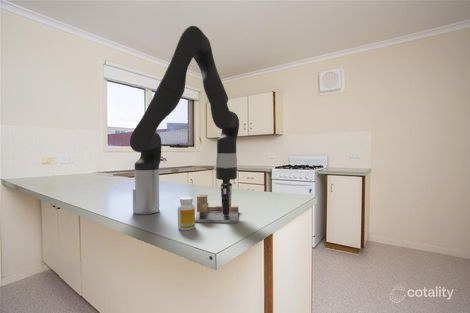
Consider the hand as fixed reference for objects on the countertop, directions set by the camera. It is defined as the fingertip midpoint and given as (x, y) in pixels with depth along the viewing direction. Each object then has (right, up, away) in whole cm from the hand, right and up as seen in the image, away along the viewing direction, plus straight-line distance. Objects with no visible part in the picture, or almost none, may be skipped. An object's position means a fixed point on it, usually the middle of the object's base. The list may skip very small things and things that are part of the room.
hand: (226, 212), depth 86 cm
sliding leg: (0, -1, 0) cm, 1 cm away
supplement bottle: (-13, -3, -9) cm, 16 cm away
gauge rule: (-3, -2, +4) cm, 6 cm away
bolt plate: (-3, -2, +1) cm, 4 cm away
